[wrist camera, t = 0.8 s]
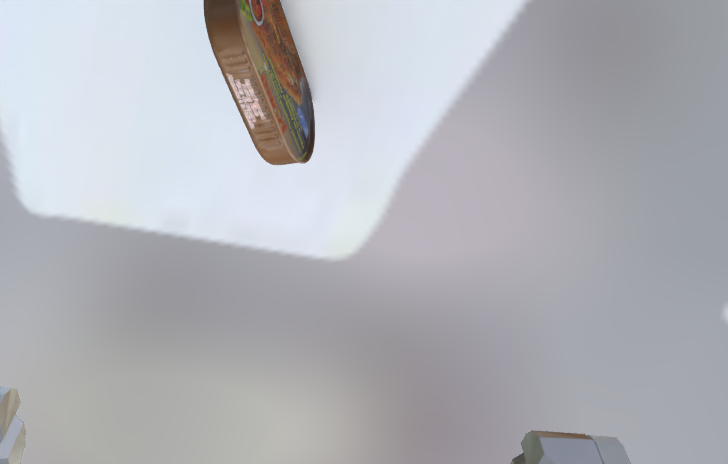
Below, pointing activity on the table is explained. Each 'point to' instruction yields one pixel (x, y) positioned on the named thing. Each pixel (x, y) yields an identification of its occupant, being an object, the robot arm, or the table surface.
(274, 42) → the tin
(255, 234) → the table surface
